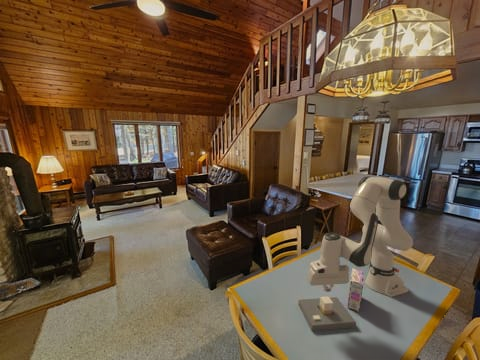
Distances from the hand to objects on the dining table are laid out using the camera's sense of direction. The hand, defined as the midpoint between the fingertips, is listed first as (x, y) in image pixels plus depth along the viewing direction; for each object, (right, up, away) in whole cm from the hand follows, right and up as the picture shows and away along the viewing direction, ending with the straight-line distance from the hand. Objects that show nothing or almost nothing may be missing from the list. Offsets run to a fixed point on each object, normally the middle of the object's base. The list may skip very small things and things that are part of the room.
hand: (327, 290), depth 102 cm
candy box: (+20, -13, +11) cm, 26 cm away
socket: (0, -14, +2) cm, 14 cm away
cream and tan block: (0, -14, +2) cm, 14 cm away
